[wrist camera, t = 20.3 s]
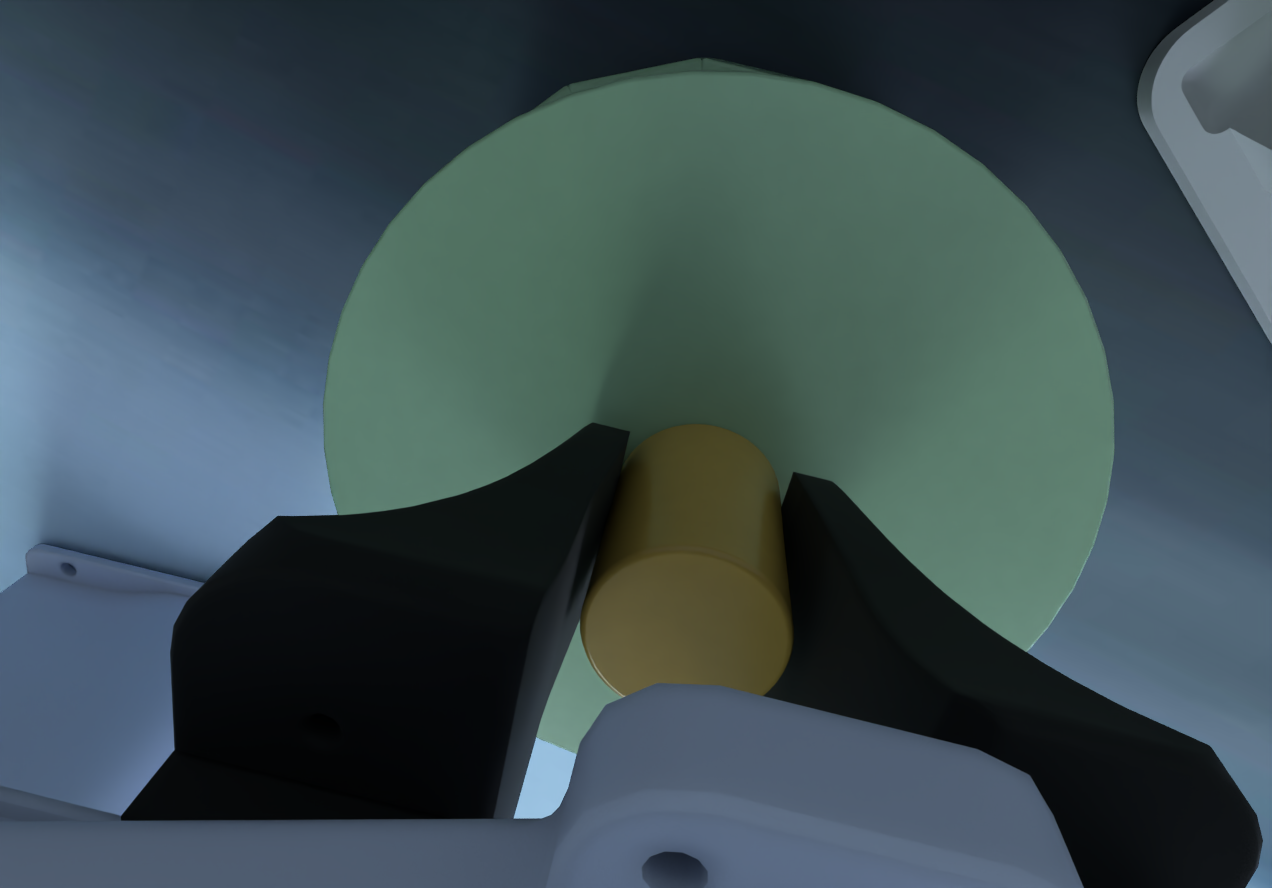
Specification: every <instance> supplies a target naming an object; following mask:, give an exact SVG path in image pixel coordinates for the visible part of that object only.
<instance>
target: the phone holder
mask: <svg viewBox="0 0 1272 888" xmlns="http://www.w3.org/2000/svg"><path fill="white" fill-rule="evenodd" d="M1137 105H1138V112H1139V115H1140V119H1141V121H1142V123H1143V125H1144V127H1145V129H1146V130H1147V132H1148V134H1149V136H1150V137H1151V139H1152V141H1153V142H1154V144H1155V146H1156V148H1157V149H1158V151H1159V153H1160V154H1161V156H1162V158H1163V160H1164V161H1165V163H1166V165H1167V166H1168V168H1169V170H1170V171H1171V173H1172V175H1173V177H1174V178H1175V180H1176V182H1177V183H1178V185H1179V187H1180V189H1181V190H1182V192H1183V194H1184V195H1185V197H1186V199H1187V201H1188V202H1189V204H1190V206H1191V207H1192V209H1193V211H1194V213H1195V214H1196V216H1197V218H1198V219H1199V221H1200V223H1201V225H1202V226H1203V228H1204V230H1205V231H1206V233H1207V235H1208V236H1209V238H1210V240H1211V242H1212V243H1213V245H1214V247H1215V248H1216V250H1217V252H1218V254H1219V255H1220V257H1221V259H1222V260H1223V262H1224V264H1225V266H1226V267H1227V269H1228V271H1229V272H1230V274H1231V276H1232V278H1233V279H1234V281H1235V283H1236V284H1237V286H1238V288H1239V290H1240V291H1241V293H1242V295H1243V296H1244V298H1245V300H1246V301H1247V303H1248V305H1249V307H1250V308H1251V310H1252V312H1253V313H1254V315H1255V317H1256V319H1257V320H1258V322H1259V324H1260V325H1261V327H1262V329H1263V331H1264V332H1265V334H1266V336H1267V337H1268V339H1269V341H1270V343H1271V344H1272V0H1214V1H1212V2H1211V3H1210V4H1208V5H1207V6H1205V7H1204V8H1203V9H1201V10H1200V11H1199V12H1197V13H1196V14H1195V15H1193V16H1192V17H1190V18H1189V19H1188V20H1186V21H1185V22H1184V23H1182V24H1181V25H1180V26H1178V27H1177V28H1176V29H1174V30H1173V31H1172V32H1171V33H1169V34H1168V35H1167V36H1166V37H1165V38H1164V39H1163V40H1162V41H1161V42H1160V44H1159V45H1158V46H1157V47H1156V49H1155V50H1154V51H1153V53H1152V54H1151V56H1150V57H1149V59H1148V61H1147V63H1146V65H1145V67H1144V69H1143V72H1142V74H1141V77H1140V81H1139V85H1138V92H1137Z"/></svg>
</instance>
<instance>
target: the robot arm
mask: <svg viewBox="0 0 1272 888" xmlns="http://www.w3.org/2000/svg"><path fill="white" fill-rule="evenodd" d="M629 435H630V431H626V430H622V429H618V428H614V427H610V426H606V425H601V424H597V423H593V422H592V423H590V424H589V425H587V426H585V427H583V428H582V429H581V430H580V431H578V432H577V433H576V434H574V435H573V436H572V437H570V438H569V439H567V440H566V441H565V442H563V443H562V444H560V445H559V446H558V447H556V448H555V449H553V450H551V451H550V452H548V453H547V454H545V455H544V456H542V457H541V458H539V459H537V460H536V461H534V462H533V463H531V464H529V465H527V466H525V467H524V468H522V469H520V470H518V471H516V472H514V473H512V474H510V475H508V476H507V477H504V478H502V479H500V480H498V481H495V482H493V483H490V484H488V485H485V486H483V487H480V488H477V489H474V490H472V491H469V492H466V493H463V494H460V495H456V496H452V497H448V498H444V499H440V500H436V501H432V502H428V503H424V504H420V505H416V506H411V507H405V508H399V509H393V510H387V511H378V512H370V513H361V514H348V515H322V516H277V517H276V518H275V519H274V520H272V521H271V522H270V523H269V524H267V525H266V526H265V527H264V528H263V529H261V530H260V531H259V532H258V533H256V534H255V535H254V536H253V537H252V538H250V539H249V540H248V541H247V542H246V543H245V544H244V545H243V546H242V547H241V548H240V549H239V550H238V551H237V552H235V553H234V554H233V555H232V556H231V557H230V558H229V559H228V560H227V561H226V562H225V563H224V564H223V565H222V566H221V567H220V568H219V569H218V570H217V571H216V572H215V573H214V574H213V575H212V576H211V577H210V578H209V579H208V580H207V581H206V582H205V583H203V582H198V581H194V580H190V579H186V578H182V577H178V576H174V575H170V574H166V573H161V572H157V571H153V570H149V569H145V568H141V567H137V566H133V565H129V564H124V563H120V562H116V561H112V560H108V559H104V558H100V557H96V556H92V555H87V554H83V553H79V552H75V551H71V550H67V549H63V548H59V547H55V546H50V545H46V544H38V545H35V546H34V547H33V548H31V549H30V550H28V552H27V553H26V565H27V572H28V574H26V575H24V576H23V577H22V578H20V579H19V580H18V581H16V582H15V583H14V584H12V585H11V586H9V587H8V588H7V589H5V590H4V591H3V592H1V593H0V888H1245V887H1246V886H1247V884H1248V882H1249V881H1250V879H1251V877H1252V876H1253V874H1254V872H1255V871H1256V869H1257V868H1258V864H1259V859H1260V853H1261V848H1262V842H1263V839H1262V835H1261V831H1260V827H1259V823H1258V818H1257V815H1256V813H1255V812H1254V810H1253V809H1252V807H1251V806H1250V804H1249V803H1248V801H1247V800H1246V798H1245V797H1244V795H1243V794H1242V792H1241V791H1240V789H1239V788H1238V786H1237V785H1236V783H1235V782H1234V780H1233V779H1232V778H1231V776H1230V775H1229V773H1228V772H1227V770H1226V769H1225V767H1224V766H1223V764H1222V763H1221V761H1220V760H1219V758H1218V757H1217V755H1216V754H1215V752H1214V751H1213V749H1212V748H1211V747H1210V746H1209V745H1207V744H1205V743H1202V742H1200V741H1198V740H1196V739H1194V738H1191V737H1189V736H1187V735H1185V734H1183V733H1180V732H1178V731H1176V730H1174V729H1171V728H1169V727H1167V726H1165V725H1163V724H1160V723H1158V722H1156V721H1154V720H1152V719H1149V718H1147V717H1145V716H1143V715H1140V714H1138V713H1136V712H1134V711H1132V710H1129V709H1127V708H1125V707H1123V706H1121V705H1119V704H1117V703H1115V702H1113V701H1111V700H1109V699H1107V698H1106V697H1104V696H1102V695H1100V694H1098V693H1096V692H1094V691H1092V690H1091V689H1089V688H1087V687H1085V686H1083V685H1081V684H1079V683H1077V682H1076V681H1074V680H1072V679H1070V678H1068V677H1067V676H1065V675H1063V674H1061V673H1060V672H1058V671H1056V670H1055V669H1053V668H1051V667H1049V666H1048V665H1046V664H1044V663H1043V662H1041V661H1039V660H1038V659H1036V658H1035V657H1033V656H1032V655H1030V654H1028V653H1027V652H1025V651H1024V650H1022V649H1021V648H1019V647H1018V646H1016V645H1015V644H1013V643H1011V642H1010V641H1008V640H1007V639H1005V638H1004V637H1002V636H1001V635H999V634H998V633H997V632H995V631H994V630H992V629H991V628H989V627H988V626H987V625H985V624H984V623H982V622H981V621H980V620H979V619H977V618H976V617H975V616H973V615H972V614H971V613H969V612H968V611H967V610H966V609H964V608H963V607H962V606H960V605H959V604H958V603H957V602H955V601H954V600H953V599H951V598H950V597H949V596H948V595H947V594H946V593H944V592H943V591H942V590H941V589H940V588H938V587H937V586H936V585H935V584H934V583H933V582H932V581H931V580H930V579H928V578H927V577H926V576H925V575H924V574H923V573H922V572H921V571H920V570H919V569H918V568H917V567H916V566H914V565H913V564H912V563H911V562H910V561H909V560H908V559H907V558H906V557H905V556H904V555H903V554H902V553H901V552H900V551H899V550H898V549H897V548H896V547H895V546H894V545H893V544H892V543H891V542H890V541H889V540H888V539H887V538H886V537H885V535H884V534H883V533H882V532H881V531H880V530H879V529H878V528H877V527H876V526H875V525H874V524H873V523H872V522H871V520H870V519H869V518H868V517H867V516H866V515H865V514H864V513H863V512H862V511H861V510H860V508H859V507H858V506H857V505H856V504H855V503H854V502H853V501H852V500H851V499H850V498H849V497H848V496H847V495H846V493H845V492H844V491H843V490H842V489H841V488H839V487H838V486H837V485H836V484H835V483H834V482H832V481H830V480H826V479H821V478H817V477H813V476H809V475H805V474H801V473H797V472H793V474H792V477H791V480H790V483H789V486H788V489H787V492H786V495H785V498H784V501H783V504H782V516H783V526H784V536H785V546H786V555H787V565H788V575H789V585H790V595H791V604H792V614H793V624H794V644H793V650H792V654H791V657H790V660H789V662H788V664H787V667H786V669H785V671H784V672H783V674H782V675H781V677H780V678H779V680H778V681H777V683H776V684H775V685H774V686H773V687H772V688H771V689H770V690H769V691H768V692H767V693H766V694H765V695H763V696H760V695H756V694H752V693H748V692H744V691H740V690H736V689H732V688H728V687H724V686H720V685H696V684H670V683H656V684H653V685H651V686H649V687H646V688H644V689H642V690H639V691H637V692H635V693H632V694H630V695H628V696H625V697H623V698H620V699H618V700H616V701H613V702H611V703H609V704H606V705H605V707H604V708H603V710H602V711H601V712H600V714H599V715H598V717H597V718H596V720H595V721H594V723H593V724H592V726H591V727H590V729H589V730H588V732H587V733H586V735H585V736H584V737H583V739H582V740H581V742H580V744H579V748H578V752H577V756H576V760H575V764H574V768H573V772H572V775H571V779H570V783H569V787H568V790H567V792H566V794H565V796H564V798H563V801H562V803H561V805H560V807H559V808H558V809H557V810H556V811H555V812H554V813H553V814H552V815H550V816H547V817H545V818H542V819H513V818H514V814H515V811H516V807H517V803H518V800H519V796H520V793H521V789H522V785H523V782H524V778H525V775H526V771H527V768H528V764H529V760H530V757H531V753H532V750H533V746H534V743H535V739H536V736H537V732H538V728H539V725H540V721H541V718H542V715H543V712H544V710H545V707H546V704H547V701H548V698H549V695H550V693H551V690H552V688H553V685H554V683H555V680H556V678H557V675H558V673H559V670H560V668H561V665H562V663H563V660H564V658H565V655H566V653H567V650H568V648H569V645H570V643H571V640H572V638H573V635H574V633H575V630H576V628H577V625H578V623H579V620H580V617H581V610H582V606H583V602H584V599H585V595H586V591H587V588H588V584H589V581H590V577H591V574H592V570H593V566H594V563H595V559H596V556H597V552H598V549H599V545H600V541H601V538H602V534H603V531H604V527H605V524H606V521H607V517H608V514H609V511H610V508H611V506H612V502H613V498H614V495H615V491H616V487H617V484H618V480H619V477H620V473H621V469H622V464H623V460H624V456H625V452H626V448H627V443H628V439H629Z"/></svg>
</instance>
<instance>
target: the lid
mask: <svg viewBox="0 0 1272 888" xmlns="http://www.w3.org/2000/svg"><path fill="white" fill-rule="evenodd" d="M323 414H324V450H325V457H326V463H327V469H328V476H329V482H330V488H331V493H332V496H333V500H334V503H335V506H336V510H337V513H338V515H348V514H361V513H370V512H378V511H387V510H393V509H399V508H405V507H411V506H416V505H420V504H424V503H428V502H432V501H436V500H440V499H444V498H448V497H452V496H456V495H460V494H463V493H466V492H469V491H472V490H474V489H477V488H480V487H483V486H485V485H488V484H490V483H493V482H495V481H498V480H500V479H502V478H504V477H507V476H508V475H510V474H512V473H514V472H516V471H518V470H520V469H522V468H524V467H525V466H527V465H529V464H531V463H533V462H534V461H536V460H537V459H539V458H541V457H542V456H544V455H545V454H547V453H548V452H550V451H551V450H553V449H555V448H556V447H558V446H559V445H560V444H562V443H563V442H565V441H566V440H567V439H569V438H570V437H572V436H573V435H574V434H576V433H577V432H578V431H580V430H581V429H582V428H583V427H585V426H587V425H589V424H590V423H592V422H593V423H597V424H601V425H606V426H610V427H614V428H618V429H622V430H626V431H630V435H629V439H628V443H627V448H626V452H625V456H624V460H623V464H622V469H621V473H620V477H619V480H618V484H617V487H616V491H615V495H614V498H613V502H612V506H611V508H610V511H609V514H608V517H607V521H606V524H605V527H604V531H603V534H602V538H601V541H600V545H599V549H598V552H597V556H596V559H595V563H594V566H593V570H592V574H591V577H590V581H589V584H588V588H587V591H586V595H585V599H584V602H583V606H582V610H581V617H580V620H579V623H578V625H577V628H576V630H575V633H574V635H573V638H572V640H571V643H570V645H569V648H568V650H567V653H566V655H565V658H564V660H563V663H562V665H561V668H560V670H559V673H558V675H557V678H556V680H555V683H554V685H553V688H552V690H551V693H550V695H549V698H548V701H547V704H546V707H545V710H544V712H543V715H542V718H541V721H540V725H539V728H538V732H537V736H536V737H537V738H539V739H541V740H543V741H546V742H548V743H551V744H553V745H556V746H558V747H561V748H563V749H565V750H568V751H570V752H573V753H575V754H577V752H578V748H579V744H580V742H581V740H582V739H583V737H584V736H585V735H586V733H587V732H588V730H589V729H590V727H591V726H592V724H593V723H594V721H595V720H596V718H597V717H598V715H599V714H600V712H601V711H602V710H603V708H604V707H605V705H606V704H609V703H611V702H613V701H616V700H618V699H620V698H623V697H625V696H628V695H630V694H632V693H635V692H637V691H639V690H642V689H644V688H646V687H649V686H651V685H653V684H656V683H670V684H696V685H720V686H724V687H728V688H732V689H736V690H740V691H744V692H748V693H752V694H756V695H760V696H763V695H765V694H766V693H767V692H768V691H769V690H770V689H771V688H772V687H773V686H774V685H775V684H776V683H777V681H778V680H779V678H780V677H781V675H782V674H783V672H784V671H785V669H786V667H787V664H788V662H789V660H790V657H791V654H792V650H793V644H794V624H793V614H792V604H791V595H790V585H789V575H788V565H787V555H786V546H785V536H784V526H783V516H782V504H783V501H784V498H785V495H786V492H787V489H788V486H789V483H790V480H791V477H792V474H793V472H797V473H801V474H805V475H809V476H813V477H817V478H821V479H826V480H830V481H832V482H834V483H835V484H836V485H837V486H838V487H839V488H841V489H842V490H843V491H844V492H845V493H846V495H847V496H848V497H849V498H850V499H851V500H852V501H853V502H854V503H855V504H856V505H857V506H858V507H859V508H860V510H861V511H862V512H863V513H864V514H865V515H866V516H867V517H868V518H869V519H870V520H871V522H872V523H873V524H874V525H875V526H876V527H877V528H878V529H879V530H880V531H881V532H882V533H883V534H884V535H885V537H886V538H887V539H888V540H889V541H890V542H891V543H892V544H893V545H894V546H895V547H896V548H897V549H898V550H899V551H900V552H901V553H902V554H903V555H904V556H905V557H906V558H907V559H908V560H909V561H910V562H911V563H912V564H913V565H914V566H916V567H917V568H918V569H919V570H920V571H921V572H922V573H923V574H924V575H925V576H926V577H927V578H928V579H930V580H931V581H932V582H933V583H934V584H935V585H936V586H937V587H938V588H940V589H941V590H942V591H943V592H944V593H946V594H947V595H948V596H949V597H950V598H951V599H953V600H954V601H955V602H957V603H958V604H959V605H960V606H962V607H963V608H964V609H966V610H967V611H968V612H969V613H971V614H972V615H973V616H975V617H976V618H977V619H979V620H980V621H981V622H982V623H984V624H985V625H987V626H988V627H989V628H991V629H992V630H994V631H995V632H997V633H998V634H999V635H1001V636H1002V637H1004V638H1005V639H1007V640H1008V641H1010V642H1011V643H1013V644H1015V645H1016V646H1018V647H1019V648H1021V649H1022V650H1024V651H1025V652H1028V650H1029V649H1030V648H1031V647H1032V646H1033V645H1034V643H1035V642H1036V641H1037V640H1038V639H1039V638H1040V636H1041V635H1042V634H1043V633H1044V632H1045V631H1046V629H1047V628H1048V627H1049V626H1050V624H1051V623H1052V621H1053V619H1054V618H1055V616H1056V615H1057V613H1058V612H1059V610H1060V609H1061V607H1062V606H1063V604H1064V603H1065V601H1066V599H1067V598H1068V596H1069V595H1070V593H1071V592H1072V590H1073V589H1074V587H1075V585H1076V582H1077V580H1078V578H1079V576H1080V574H1081V572H1082V570H1083V568H1084V565H1085V563H1086V561H1087V559H1088V557H1089V555H1090V553H1091V550H1092V548H1093V546H1094V543H1095V540H1096V536H1097V533H1098V530H1099V526H1100V523H1101V520H1102V517H1103V513H1104V510H1105V507H1106V503H1107V499H1108V492H1109V485H1110V478H1111V471H1112V464H1113V457H1114V400H1113V394H1112V389H1111V383H1110V377H1109V371H1108V366H1107V360H1106V354H1105V349H1104V346H1103V344H1102V341H1101V338H1100V335H1099V332H1098V329H1097V326H1096V323H1095V320H1094V318H1093V315H1092V312H1091V309H1090V306H1089V303H1088V300H1087V298H1086V296H1085V294H1084V293H1083V291H1082V289H1081V287H1080V285H1079V283H1078V281H1077V280H1076V278H1075V276H1074V274H1073V272H1072V270H1071V268H1070V267H1069V265H1068V263H1067V261H1066V259H1065V257H1064V255H1063V254H1062V252H1061V250H1060V249H1059V248H1058V246H1057V245H1056V244H1055V242H1054V241H1053V240H1052V238H1051V237H1050V236H1049V234H1048V233H1047V232H1046V231H1045V229H1044V228H1043V227H1042V225H1041V224H1040V223H1039V221H1038V220H1037V219H1036V217H1035V216H1034V215H1033V214H1032V212H1031V211H1030V210H1029V208H1028V207H1027V206H1026V205H1025V204H1024V203H1023V202H1022V201H1021V200H1020V199H1019V198H1018V197H1017V196H1016V195H1015V194H1014V193H1013V192H1012V191H1011V190H1010V189H1009V188H1008V187H1006V186H1005V185H1004V184H1003V183H1002V182H1001V181H1000V180H999V179H998V178H997V177H996V176H995V175H994V174H993V173H992V172H991V171H990V170H989V169H988V168H987V167H985V166H984V165H983V164H982V163H981V162H979V161H978V160H976V159H975V158H973V157H972V156H971V155H969V154H968V153H966V152H965V151H963V150H962V149H960V148H959V147H958V146H956V145H955V144H953V143H952V142H950V141H949V140H948V139H946V138H945V137H943V136H942V135H940V134H939V133H938V132H936V131H935V130H933V129H931V128H929V127H927V126H925V125H923V124H921V123H919V122H917V121H915V120H913V119H911V118H909V117H907V116H905V115H903V114H901V113H899V112H897V111H895V110H893V109H891V108H889V107H887V106H885V105H883V104H881V103H879V102H876V101H873V100H870V99H867V98H864V97H861V96H857V95H854V94H851V93H848V92H845V91H842V90H839V89H836V88H833V87H830V86H826V85H823V84H820V83H817V82H813V81H807V80H801V79H796V78H790V77H784V76H778V75H772V74H766V73H760V72H754V71H711V70H689V71H680V72H672V73H664V74H656V75H647V76H639V77H631V78H627V79H623V80H619V81H616V82H612V83H608V84H605V85H601V86H597V87H594V88H590V89H586V90H582V91H579V92H575V93H571V94H568V95H566V96H564V97H561V98H559V99H557V100H555V101H552V102H550V103H548V104H545V105H543V106H541V107H538V108H536V109H534V110H531V111H529V112H527V113H525V114H522V115H520V116H518V117H515V118H514V119H512V120H510V121H509V122H507V123H506V124H504V125H502V126H501V127H499V128H497V129H496V130H494V131H493V132H491V133H489V134H488V135H486V136H485V137H483V138H481V139H480V140H478V141H476V142H475V143H473V144H472V145H470V146H468V147H467V148H465V149H464V150H463V151H462V152H461V153H460V154H458V155H457V156H456V157H455V158H454V159H452V160H451V161H450V162H449V163H448V164H447V165H445V166H444V167H443V168H442V169H441V170H439V171H438V172H437V173H436V174H435V175H434V176H432V177H431V178H430V179H429V180H428V181H426V182H425V183H424V184H423V185H422V186H421V188H420V189H419V190H418V191H417V192H416V193H415V194H414V196H413V197H412V198H411V199H410V200H409V201H408V202H407V204H406V205H405V206H404V207H403V208H402V209H401V210H400V212H399V213H398V214H397V215H396V216H395V217H394V218H393V220H392V221H391V222H390V223H389V224H388V226H387V228H386V229H385V231H384V232H383V234H382V235H381V237H380V239H379V240H378V242H377V243H376V245H375V246H374V248H373V249H372V251H371V253H370V254H369V256H368V257H367V259H366V260H365V262H364V264H363V265H362V267H361V269H360V271H359V274H358V276H357V278H356V280H355V282H354V285H353V287H352V289H351V291H350V294H349V296H348V298H347V300H346V303H345V305H344V307H343V309H342V312H341V316H340V319H339V323H338V326H337V330H336V334H335V337H334V341H333V344H332V348H331V352H330V355H329V362H328V370H327V378H326V386H325V394H324V402H323Z"/></svg>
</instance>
